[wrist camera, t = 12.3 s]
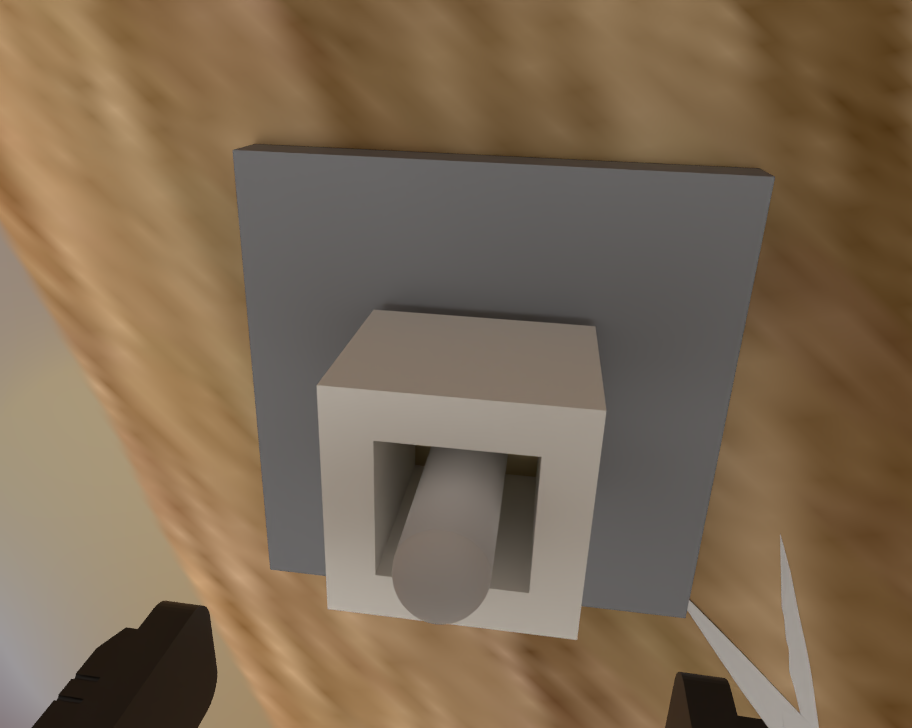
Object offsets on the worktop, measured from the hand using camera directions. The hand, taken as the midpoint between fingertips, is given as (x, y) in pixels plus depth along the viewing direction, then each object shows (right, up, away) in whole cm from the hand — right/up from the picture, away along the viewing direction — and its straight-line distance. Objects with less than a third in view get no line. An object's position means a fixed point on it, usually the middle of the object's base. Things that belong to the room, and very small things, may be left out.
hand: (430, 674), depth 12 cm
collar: (+1, +4, +8) cm, 9 cm away
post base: (+1, +5, +10) cm, 11 cm away
